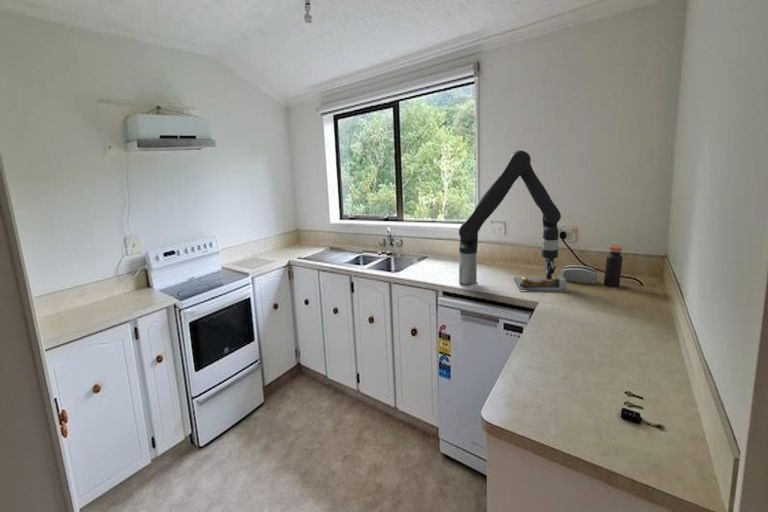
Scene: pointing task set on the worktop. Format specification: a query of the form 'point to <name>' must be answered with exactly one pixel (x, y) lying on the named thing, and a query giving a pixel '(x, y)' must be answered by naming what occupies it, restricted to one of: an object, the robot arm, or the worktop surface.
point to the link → (539, 283)
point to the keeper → (561, 282)
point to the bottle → (613, 267)
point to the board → (538, 288)
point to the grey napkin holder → (580, 274)
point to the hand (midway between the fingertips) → (548, 280)
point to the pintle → (525, 279)
